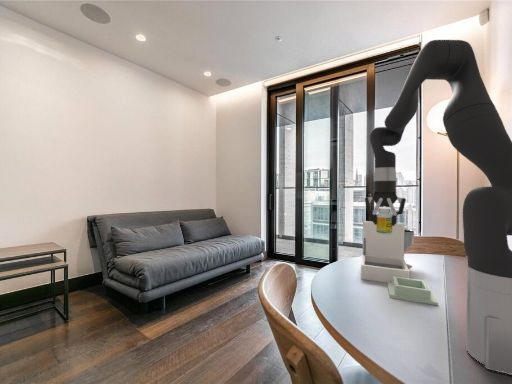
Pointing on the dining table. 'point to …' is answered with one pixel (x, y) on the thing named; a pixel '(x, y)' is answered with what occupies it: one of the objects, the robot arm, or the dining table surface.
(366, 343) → the dining table surface
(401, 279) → the sage holder
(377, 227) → the supplement bottle
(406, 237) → the wine glass
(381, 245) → the case
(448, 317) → the dining table surface
